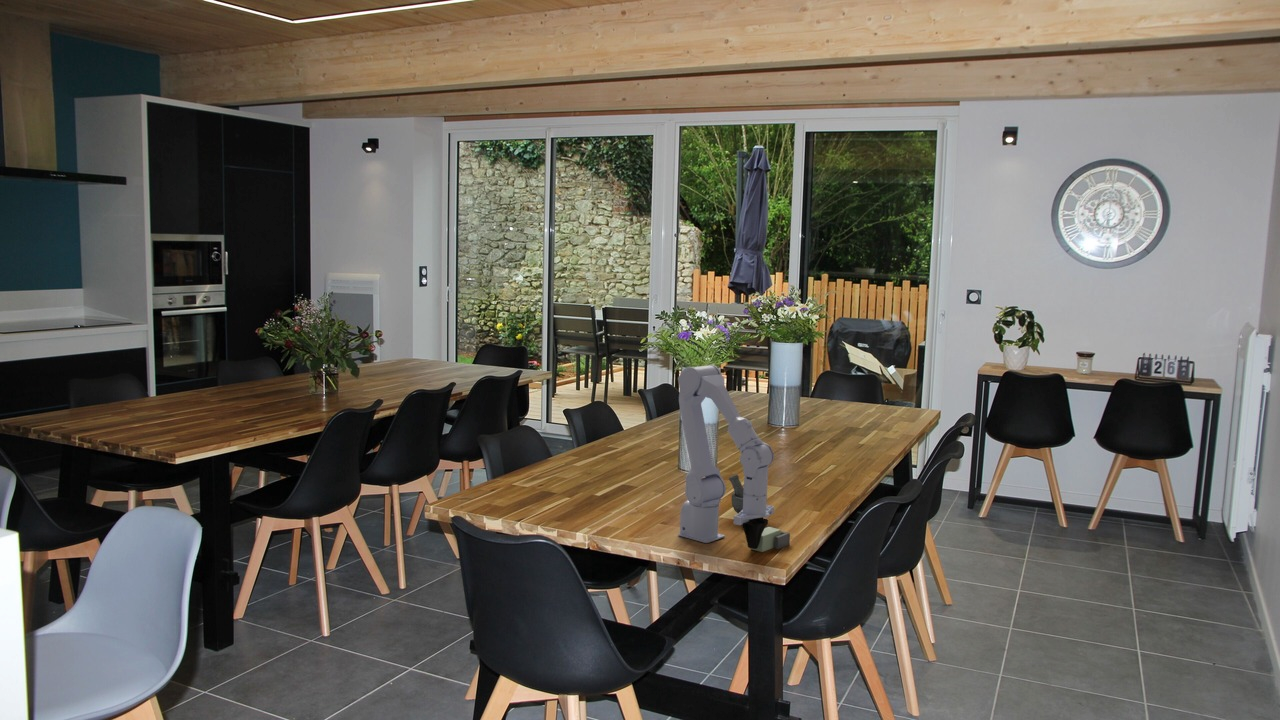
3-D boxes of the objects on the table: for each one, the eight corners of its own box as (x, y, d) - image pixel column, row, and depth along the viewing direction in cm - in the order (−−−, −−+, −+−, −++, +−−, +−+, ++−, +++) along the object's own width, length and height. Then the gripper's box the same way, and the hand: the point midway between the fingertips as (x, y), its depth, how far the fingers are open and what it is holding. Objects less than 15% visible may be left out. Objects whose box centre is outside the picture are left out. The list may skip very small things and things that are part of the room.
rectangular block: (768, 542, 239) (768, 526, 238) (779, 545, 236) (780, 529, 236) (750, 548, 233) (750, 533, 232) (762, 552, 230) (762, 536, 230)
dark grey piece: (755, 543, 237) (755, 531, 237) (767, 538, 241) (767, 527, 241) (777, 549, 233) (778, 537, 233) (789, 544, 237) (790, 533, 237)
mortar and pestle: (771, 519, 260) (773, 476, 258) (757, 526, 252) (759, 483, 251) (735, 512, 266) (737, 470, 264) (720, 519, 258) (721, 476, 256)
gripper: (751, 502, 221) (749, 558, 222) (785, 491, 232) (782, 545, 233) (727, 496, 225) (725, 551, 227) (761, 486, 236) (759, 538, 238)
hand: (752, 547), depth 230 cm, fingers closed
